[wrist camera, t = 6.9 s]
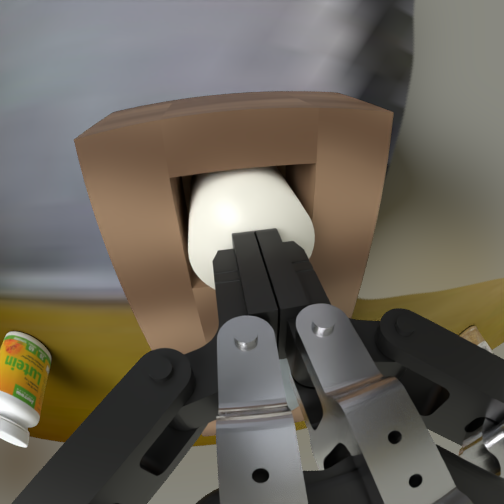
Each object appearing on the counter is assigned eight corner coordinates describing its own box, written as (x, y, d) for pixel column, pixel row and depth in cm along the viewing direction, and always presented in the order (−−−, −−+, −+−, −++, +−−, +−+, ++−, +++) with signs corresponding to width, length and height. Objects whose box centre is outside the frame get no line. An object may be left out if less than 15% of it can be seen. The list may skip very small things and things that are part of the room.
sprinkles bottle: (449, 348, 35) (487, 417, 25) (459, 331, 32) (502, 405, 22) (469, 337, 35) (507, 401, 25) (479, 319, 32) (522, 388, 22)
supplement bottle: (57, 347, 21) (38, 446, 13) (47, 369, 23) (33, 453, 15) (7, 320, 18) (-24, 417, 10) (4, 347, 20) (-19, 430, 12)
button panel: (113, 112, 12) (73, 139, 8) (337, 92, 13) (393, 112, 9) (199, 393, 28) (203, 436, 24) (301, 377, 29) (314, 418, 25)
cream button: (184, 151, 12) (177, 200, 8) (280, 141, 13) (319, 184, 9) (196, 232, 15) (199, 302, 11) (279, 221, 16) (309, 286, 12)
